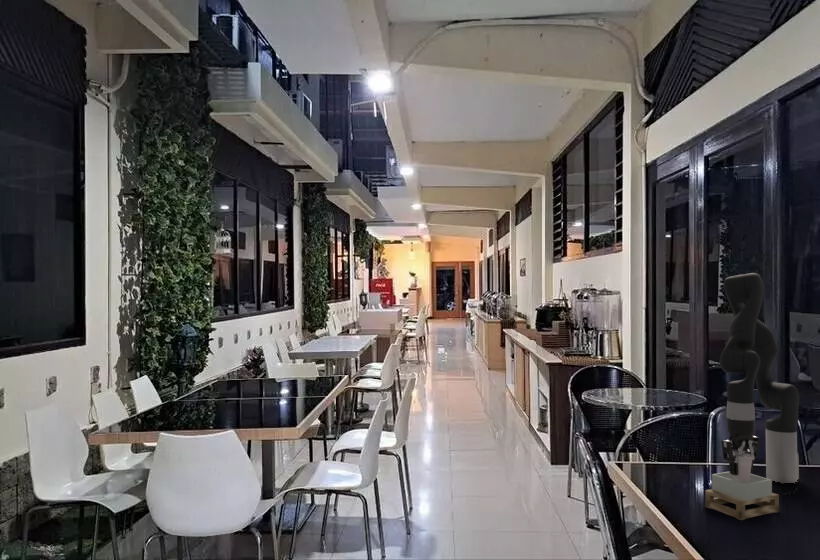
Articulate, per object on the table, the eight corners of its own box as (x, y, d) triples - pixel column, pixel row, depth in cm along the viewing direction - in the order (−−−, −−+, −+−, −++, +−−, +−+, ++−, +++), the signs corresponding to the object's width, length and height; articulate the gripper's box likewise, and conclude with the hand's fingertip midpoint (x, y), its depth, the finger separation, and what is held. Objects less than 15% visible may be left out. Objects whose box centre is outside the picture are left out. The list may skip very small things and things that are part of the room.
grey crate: (737, 484, 193) (737, 469, 193) (771, 495, 182) (771, 479, 183) (712, 489, 188) (712, 474, 188) (745, 500, 178) (745, 484, 178)
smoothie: (756, 491, 182) (756, 442, 182) (732, 489, 183) (732, 441, 183) (749, 484, 188) (749, 437, 188) (726, 483, 189) (726, 436, 189)
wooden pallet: (742, 499, 194) (742, 483, 194) (778, 511, 183) (778, 494, 183) (705, 506, 187) (705, 490, 187) (741, 520, 176) (741, 502, 177)
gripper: (745, 412, 192) (746, 467, 192) (712, 416, 186) (713, 473, 186) (768, 417, 185) (769, 473, 185) (735, 421, 179) (735, 480, 179)
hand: (741, 473), depth 185 cm, fingers open, 6 cm apart
